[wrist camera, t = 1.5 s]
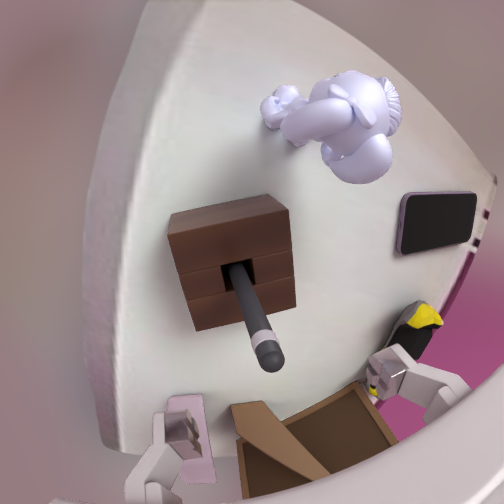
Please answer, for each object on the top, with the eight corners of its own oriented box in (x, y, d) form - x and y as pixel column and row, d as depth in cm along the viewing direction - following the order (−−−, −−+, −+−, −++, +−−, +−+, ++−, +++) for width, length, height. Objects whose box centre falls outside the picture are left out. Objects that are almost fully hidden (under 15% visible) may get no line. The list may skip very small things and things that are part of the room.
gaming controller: (350, 376, 37) (394, 367, 39) (366, 402, 32) (411, 388, 34) (393, 290, 31) (436, 291, 34) (420, 314, 26) (460, 310, 29)
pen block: (170, 214, 22) (167, 235, 17) (268, 193, 23) (288, 209, 19) (193, 297, 25) (196, 331, 21) (278, 277, 27) (296, 307, 22)
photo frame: (360, 391, 40) (432, 504, 17) (248, 447, 40) (286, 566, 18) (341, 344, 33) (447, 503, 11) (198, 416, 33) (232, 580, 11)
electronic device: (163, 391, 30) (166, 461, 21) (200, 389, 31) (211, 459, 22) (176, 429, 34) (182, 487, 25) (207, 427, 35) (217, 484, 26)
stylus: (219, 243, 24) (259, 363, 11) (234, 240, 24) (288, 355, 12) (222, 256, 24) (263, 381, 12) (236, 253, 25) (289, 373, 12)
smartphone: (406, 193, 25) (478, 192, 27) (399, 191, 26) (472, 190, 28) (398, 257, 28) (470, 241, 30) (392, 253, 29) (464, 238, 31)
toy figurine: (340, 115, 21) (446, 117, 11) (303, 172, 23) (395, 211, 12) (278, 67, 19) (360, 19, 8) (235, 127, 20) (288, 120, 10)
